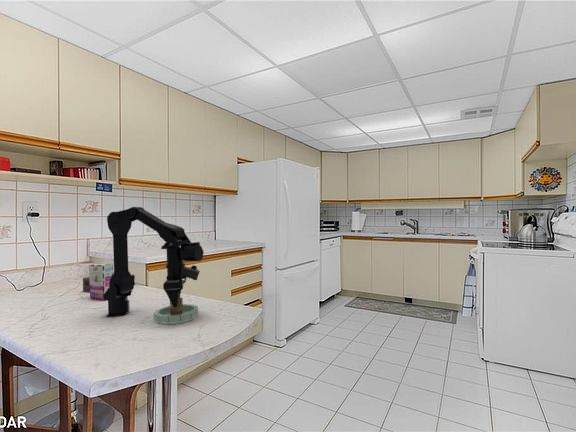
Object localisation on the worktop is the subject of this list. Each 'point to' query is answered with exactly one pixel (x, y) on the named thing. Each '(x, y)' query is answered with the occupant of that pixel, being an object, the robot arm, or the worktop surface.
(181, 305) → the brown cylinder
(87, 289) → the box
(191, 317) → the dish
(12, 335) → the worktop surface
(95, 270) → the candy bar box
